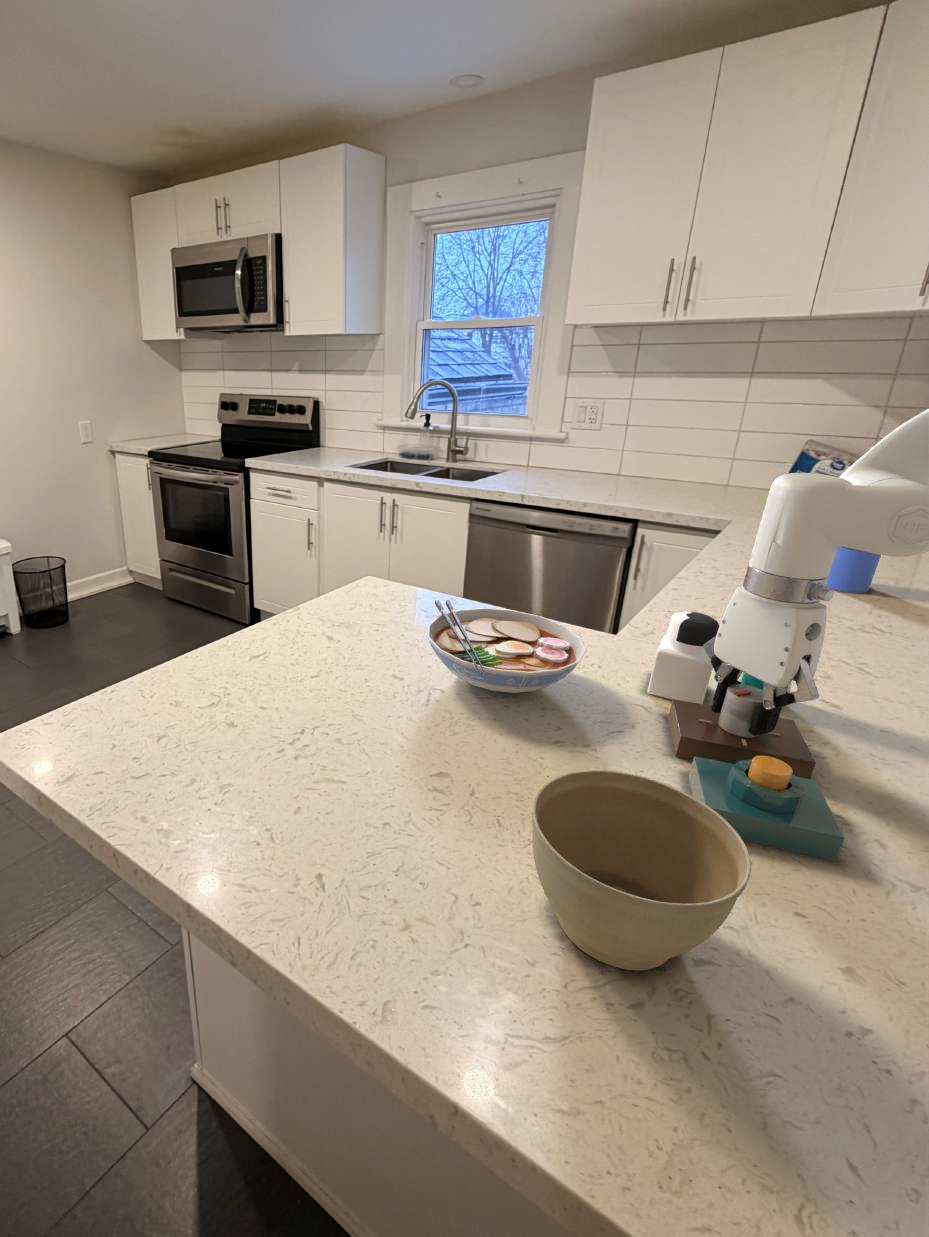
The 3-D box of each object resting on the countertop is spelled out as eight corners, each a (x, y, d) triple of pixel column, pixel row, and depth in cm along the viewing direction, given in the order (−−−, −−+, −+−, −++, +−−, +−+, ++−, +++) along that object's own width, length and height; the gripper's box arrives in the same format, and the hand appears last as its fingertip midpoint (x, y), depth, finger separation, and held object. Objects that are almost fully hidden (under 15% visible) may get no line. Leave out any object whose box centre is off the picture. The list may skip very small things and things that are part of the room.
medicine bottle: (706, 688, 99) (727, 614, 94) (701, 708, 93) (723, 630, 88) (654, 675, 102) (671, 603, 98) (646, 693, 97) (664, 618, 92)
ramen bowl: (607, 725, 89) (619, 671, 86) (438, 724, 88) (444, 670, 85) (545, 646, 112) (552, 601, 109) (411, 645, 112) (414, 600, 108)
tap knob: (737, 715, 85) (748, 679, 83) (769, 734, 81) (781, 697, 79) (709, 721, 84) (719, 684, 82) (740, 740, 80) (752, 702, 78)
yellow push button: (782, 775, 71) (788, 759, 70) (791, 795, 68) (797, 778, 67) (744, 767, 72) (749, 752, 72) (750, 786, 69) (756, 770, 68)
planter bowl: (598, 839, 68) (618, 751, 64) (757, 958, 55) (795, 857, 51) (478, 895, 61) (492, 800, 57) (629, 1046, 48) (661, 937, 44)
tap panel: (786, 739, 86) (794, 718, 85) (808, 783, 77) (816, 761, 76) (667, 717, 91) (672, 697, 89) (675, 756, 82) (681, 735, 81)
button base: (807, 801, 74) (821, 764, 72) (835, 861, 66) (851, 821, 64) (688, 776, 78) (698, 741, 76) (699, 830, 70) (711, 791, 68)
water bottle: (804, 579, 145) (841, 464, 135) (840, 577, 146) (879, 463, 137) (843, 594, 136) (885, 472, 127) (880, 592, 138) (925, 471, 128)
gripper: (885, 607, 69) (829, 753, 76) (742, 559, 84) (707, 685, 91) (833, 615, 67) (781, 765, 74) (696, 564, 82) (664, 693, 89)
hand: (741, 720), depth 82 cm, fingers closed on tap knob, 4 cm apart
